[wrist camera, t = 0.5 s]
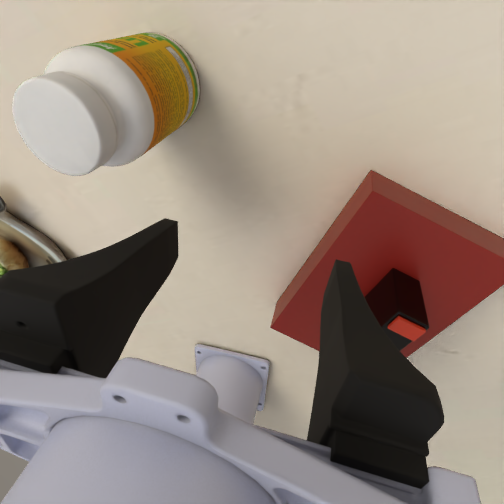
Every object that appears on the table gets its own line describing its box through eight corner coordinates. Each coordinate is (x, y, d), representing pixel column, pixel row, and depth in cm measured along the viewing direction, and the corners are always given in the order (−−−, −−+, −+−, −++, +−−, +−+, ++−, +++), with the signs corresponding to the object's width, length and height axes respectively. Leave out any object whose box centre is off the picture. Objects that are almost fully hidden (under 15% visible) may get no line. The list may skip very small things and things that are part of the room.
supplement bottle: (176, 14, 19) (59, 29, 12) (216, 111, 22) (141, 174, 14) (104, 52, 21) (-33, 86, 14) (148, 136, 24) (53, 202, 17)
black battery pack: (361, 335, 26) (362, 384, 23) (338, 323, 26) (335, 372, 23) (420, 280, 22) (431, 331, 19) (392, 266, 22) (399, 315, 19)
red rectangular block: (376, 350, 31) (378, 379, 29) (276, 302, 30) (270, 327, 28) (507, 240, 22) (524, 269, 20) (371, 169, 22) (372, 190, 19)
